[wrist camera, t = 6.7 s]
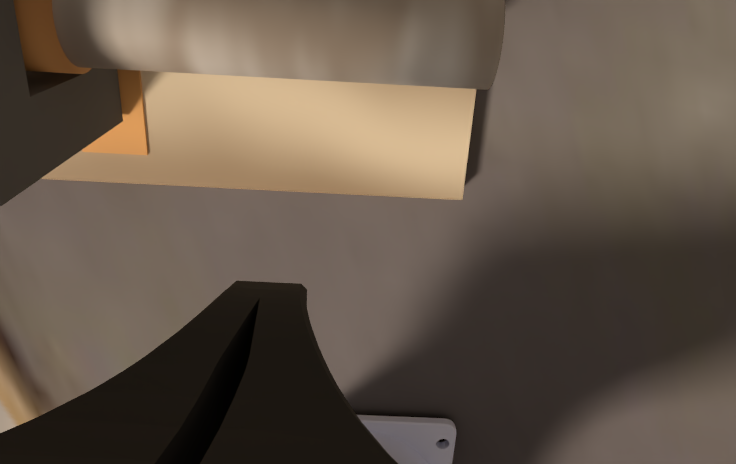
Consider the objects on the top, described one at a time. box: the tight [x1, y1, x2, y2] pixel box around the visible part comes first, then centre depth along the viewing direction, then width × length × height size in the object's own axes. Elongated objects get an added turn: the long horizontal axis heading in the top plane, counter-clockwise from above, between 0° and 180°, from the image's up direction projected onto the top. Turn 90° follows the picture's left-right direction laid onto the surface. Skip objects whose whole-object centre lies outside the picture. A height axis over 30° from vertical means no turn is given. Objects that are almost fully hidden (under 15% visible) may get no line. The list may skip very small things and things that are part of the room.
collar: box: [0, 0, 123, 206], centre depth 14 cm, size 7×2×7 cm, turn 177°
